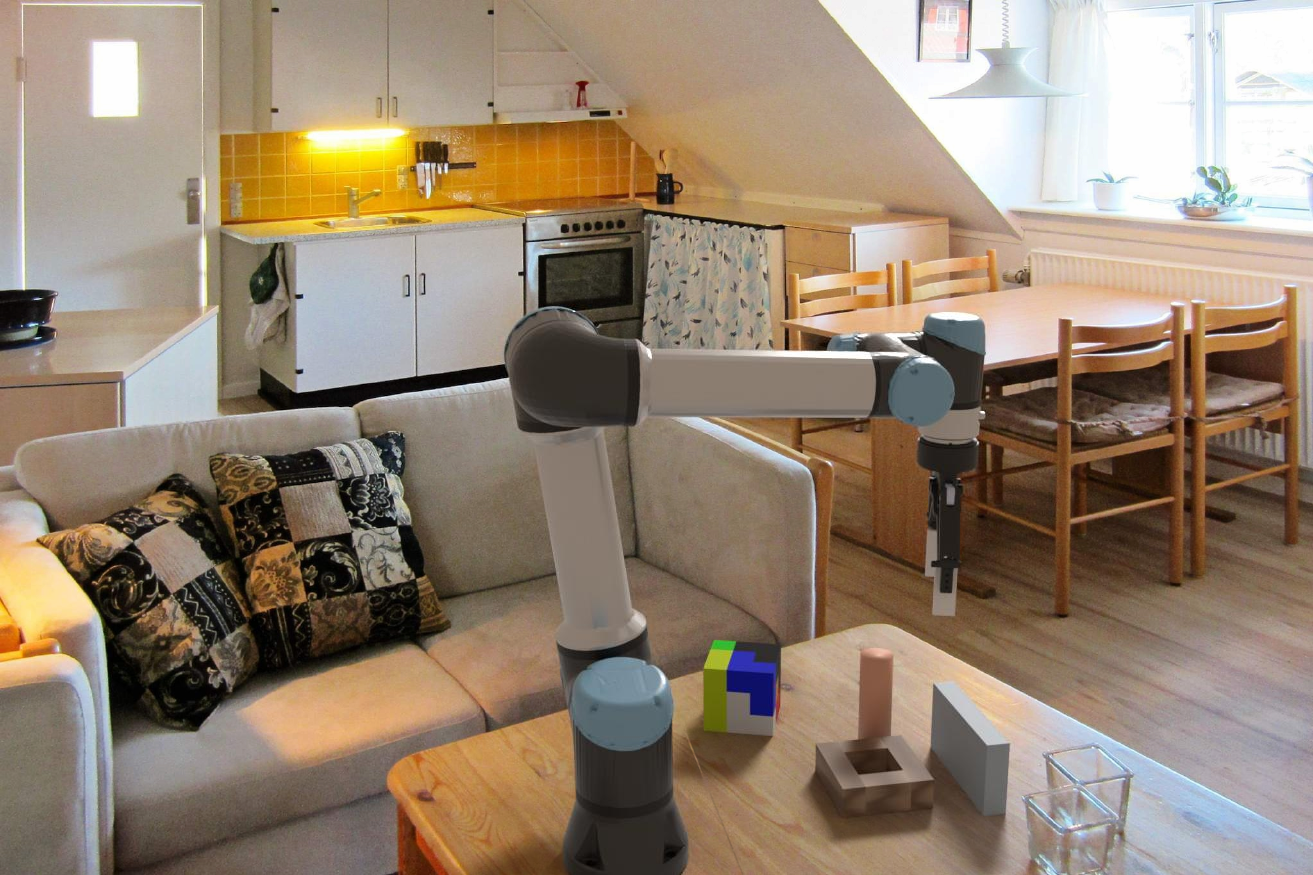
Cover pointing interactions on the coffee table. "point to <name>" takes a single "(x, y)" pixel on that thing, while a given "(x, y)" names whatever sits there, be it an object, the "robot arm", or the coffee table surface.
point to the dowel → (875, 693)
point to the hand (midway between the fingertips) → (939, 594)
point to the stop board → (970, 748)
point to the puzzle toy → (742, 687)
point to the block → (873, 776)
